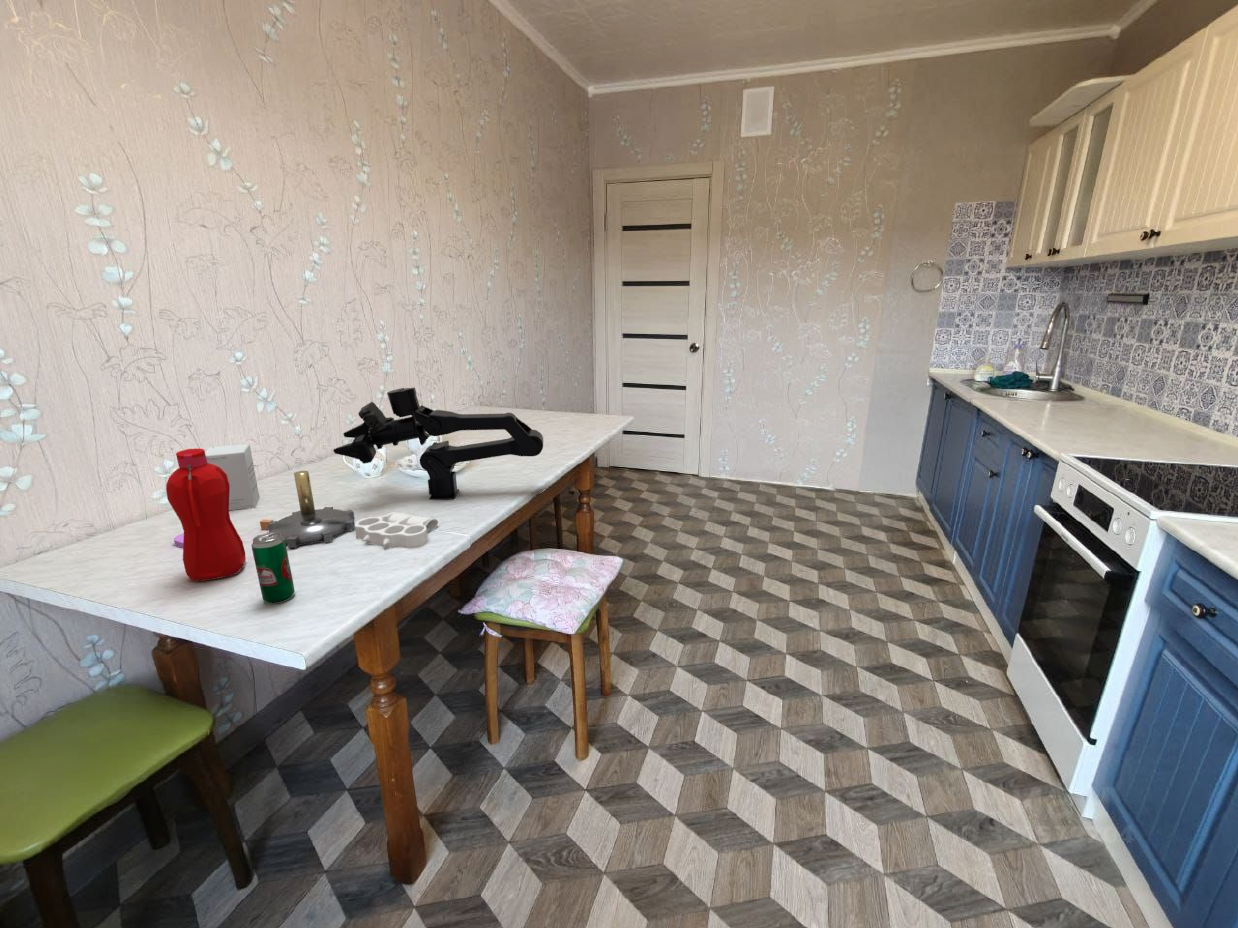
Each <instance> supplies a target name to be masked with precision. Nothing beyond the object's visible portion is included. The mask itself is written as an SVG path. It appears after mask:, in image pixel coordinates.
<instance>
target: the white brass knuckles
mask: <svg viewBox="0 0 1238 928" xmlns="http://www.w3.org/2000/svg"><path fill="white" fill-rule="evenodd" d="M354 523H355V528H354V530H355V531H354V532H355V538H357V539H358V540H361V542H366V543H367V544H369V545H372V546H373V545H376V546H381V547H383V548H397V547H400V548H401V547H403V548H407V549H412V548H413V549H414V548H418V547H422V546H423V545H425V544H426V543H428V542H429V537H428V533H429V532H432V531H433V530H435V529H436V528H437V526H438V525H439V521H438V519H436V518H434V517H425V516H419V515H416V514H408V513H402V512H399V511H392V512H389V513H387V514H385V515H382V516H370V517H365V518H361V519H359V520H357V521H356V522H354Z"/></svg>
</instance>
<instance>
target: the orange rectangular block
mask: <svg viewBox="0 0 1238 928" xmlns="http://www.w3.org/2000/svg"><path fill="white" fill-rule="evenodd" d="M271 521H274V520H273V519H262V520H260V521H259V524H260V528H261V530H264V531H269V529H268V524H269V523H270V522H271Z"/></svg>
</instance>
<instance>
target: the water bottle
mask: <svg viewBox="0 0 1238 928" xmlns="http://www.w3.org/2000/svg"><path fill="white" fill-rule="evenodd" d="M205 450H206V449H204V448H186V449H183V450H179V451H177V452H176V453H175V456H176V460H177V464H178V468H177V469H176V470H174V471H173V472H172V473H171V475H169V477H168V479H167V482H166V484H165V485H166V487H165V488H166V498H167V502H169V504H170V506H171V508H172V510H173V511H174V513H175V515H176V517H177V518H178V519H179V521H180V524H181V528H182V529H183V533H184V540H183V548H182V561H183V566H184V571H185V574H186V576H187V578H188V579H189V580H192V581H195V582H203V581H204V582H205V581H210V580H215V579H221V578H229V577H231V576H233V575H236V574H238V573H239V572H240V571H241V570H242V569H243V568H244V565H245V563H246V551H245V550H246V549H245V546H244V543H243V540H242V539H241V536H240V534H239V533H238V530H237V529H236V527H235V526H234V523H233V522H232V520H231V515H230V510H229V492H230V485H229V481H228V478H227V475H226V473H225V472H224V471H223V470H222V469H221V468H220V467H218V466H216V465H213V464H210V463H207V459H206V455H205V452H206V451H205Z"/></svg>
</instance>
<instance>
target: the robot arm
mask: <svg viewBox="0 0 1238 928" xmlns="http://www.w3.org/2000/svg"><path fill="white" fill-rule="evenodd" d="M386 395H387V397H388V398H387V399H388V401H389V403H390V407H391V410H392V412H393V415H395V416H396V417H398V419H395V418H394V417H391V416H390V417H386V415H384V413H383V411H382V410H381V409H380V408H379V407H378V406H377V404H375V402H373V401H370V402H369V403H367V404H365V405H364V406H363V407H361V408H360V411H358V416H359V418H360V419H362V421H363V423H361V424H359V425H356V426H354V427H353V428H351V429H349V430H347V431H345V432H343V437H344V438H351V439H353V440H352V442H350V443H347V444H343V445H340V446H338V447H336V448H333V450H332V451H333V453H334V454H335V455H340V456H343V457H348V458H353V459H357V460H359V461H360V462H361V463H362V464H369V463H372V462H373V460H374V458H375V456H376V453H377V450H380V449H381V450H382V448H383V446H386V445H391V444H392V445H393V447H394V446H398V445H399V443H401V442H404V441H409V440H415V439H418V440H419V444H420V445H421V446H424V444H426V442H427V440H428V439H429V438H430V437H438V436H440V437H441V436H444V435H450V434H452V433H457V432H461V431H493V430H496V431H497V430H501V431H502V430H505V431H506V432H507V433H508V434H509V435H510V437H509V438H505V439H504V438H503V439H496V440H492V441H484V442H478V443H472V444H465V445H458V446H457V445H456V446H455V445H450V444H449V443H450V442H449V440H444V441H442V442H433V443H431V445H429V446H428V447H427V448H426V449H425V450H424V451H423V453H422V454H421V456H420V457H419V464H420V467H421V468H422V469H423V470H424V471H426V473H427V475H428V477H429V478H428V480H427V484H428V485H427V486H428V493H429V495H430V496H429V500H453V499H455V498H456V496H457V495H458V494H459V492H460V488H459V489H458V485H457V475H456V471H454V469H455V465H456V464H458V463H464V462H471V461H477V460H482V459H490V458H496V457H502V456H509V455H511V456H517V457H537V456H538V455H540V454H541V453H542V451H543V448H544V436H543V434H542V433H541V432H540V431H538V430H537V429H532V427H530V426H529V425H528V424H527V423H525V422H523V421H522V420H521V419H519V418H518V417H517V416H516V415H515V413H512V412H505V413H475V414H474V413H467V414H466V413H464V414H463V413H456V412H454V411H449V410H441V409H435V410H434V409H431V408H429V407H426V406H424V405H420V403H419V399H418V396H417V390H416V388H415V387H405V388H404V387H400V388H396V389H392V390H390V391H387V392H386ZM375 446H376V448H377V449H376V448H375Z"/></svg>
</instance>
